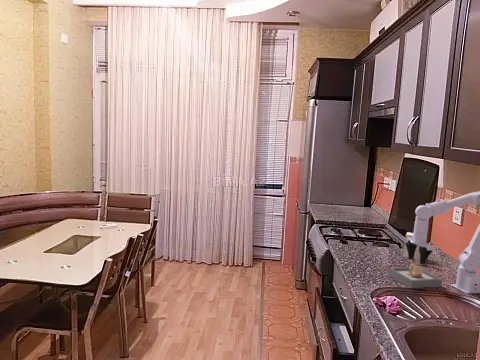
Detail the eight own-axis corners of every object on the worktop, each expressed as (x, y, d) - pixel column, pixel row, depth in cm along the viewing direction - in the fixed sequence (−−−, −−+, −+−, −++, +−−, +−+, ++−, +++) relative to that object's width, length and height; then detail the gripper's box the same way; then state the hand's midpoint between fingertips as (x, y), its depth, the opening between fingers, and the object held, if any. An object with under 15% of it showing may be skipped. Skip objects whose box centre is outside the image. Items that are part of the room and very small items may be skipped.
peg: (420, 281, 191) (422, 266, 190) (413, 281, 190) (415, 266, 189) (415, 278, 195) (416, 263, 194) (407, 278, 194) (409, 263, 193)
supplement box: (404, 253, 237) (407, 231, 235) (418, 256, 233) (421, 234, 232) (402, 256, 230) (405, 234, 228) (417, 259, 227) (420, 236, 225)
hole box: (441, 286, 187) (442, 279, 186) (410, 288, 182) (411, 280, 182) (416, 274, 202) (417, 267, 202) (388, 275, 198) (389, 267, 197)
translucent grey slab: (415, 263, 219) (417, 248, 218) (414, 262, 221) (416, 248, 220) (429, 266, 216) (431, 251, 215) (429, 265, 218) (431, 250, 217)
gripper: (402, 227, 195) (398, 256, 197) (424, 236, 181) (420, 266, 183) (415, 228, 197) (411, 255, 199) (437, 236, 183) (433, 266, 185)
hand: (416, 261), depth 191 cm, fingers open, 7 cm apart
